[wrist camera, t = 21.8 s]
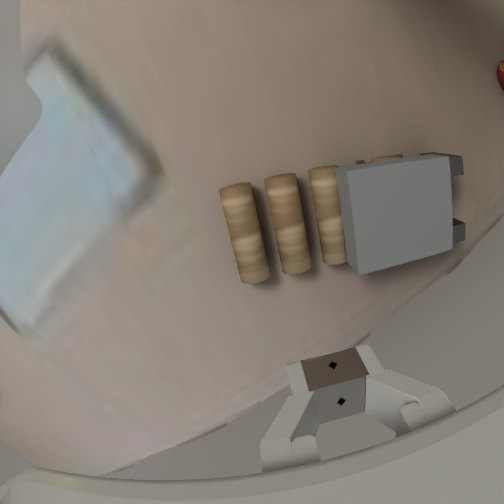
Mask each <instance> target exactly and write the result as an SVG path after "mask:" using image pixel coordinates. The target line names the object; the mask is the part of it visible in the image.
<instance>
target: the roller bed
mask: <svg viewBox="0 0 504 504" xmlns="http://www.w3.org/2000/svg"><path fill="white" fill-rule="evenodd" d="M394 156H399V157H400V158H403V155H394ZM358 164H365V163H364V160H358V161H356V165H358ZM335 168H339V166H336V165H333V166H323V167H317V168H313V169H310V170H308V172H309V177H310V183H311V188H312V194H313V200H314V206H315V212H316V218H317V224H318V231H319V237H320V244H321V251H322V258H323V262H324V263H326V264H330V265H338V264H343V263H345V262H347V253H346V244H345V235H344V227H343V220H342V212H341V205H340V198H339V192H338V185H337V179H336V173H335ZM264 181H265V186H266V191H267V196H268V200H269V205H270V210H271V215H272V220H273V225H274V230H275V235H276V240H277V245H278V250H279V255H280V260H281V265H282V270H283V272H284V273H285V274H290V275H294V274H300V273H304V272H306V271H308V270H309V269H310V268H311V260H310V254H309V248H308V241H307V235H306V229H305V224H304V218H303V212H302V207H301V201H300V196H299V190H298V185H297V180H296V174H295V173H288V174H281V175H276V176H272V177H268V178H266V179H264ZM219 192H220V197H221V201H222V205H223V209H224V213H225V217H226V221H227V225H228V229H229V234H230V238H231V242H232V246H233V250H234V254H235V258H236V262H237V266H238V270H239V274H240V278H241V281H242V283H244V284H256V283H260V282H263V281H265V280H266V279H268V278H269V276H270V272H269V267H268V263H267V258H266V253H265V249H264V244H263V239H262V235H261V230H260V225H259V221H258V216H257V212H256V207H255V202H254V198H253V193H252V189H251V184H250V183H249V182H247V183H239V184H234V185H230V186H227V187H224V188H221V189H219Z"/></svg>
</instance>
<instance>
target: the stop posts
mask: <svg viewBox="0 0 504 504" xmlns="http://www.w3.org/2000/svg"><path fill="white" fill-rule="evenodd" d="M428 154H434V155H441V156H449V163H450V175H451V176H457V175H464V172H463V160H462V156H458V155H450V154H443V153H435V152H431V153H423V154H420V155H428ZM463 240H465V223H464V222H462V221H459V220H457V219H455V218H453V243H456V242H460V241H463Z"/></svg>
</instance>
